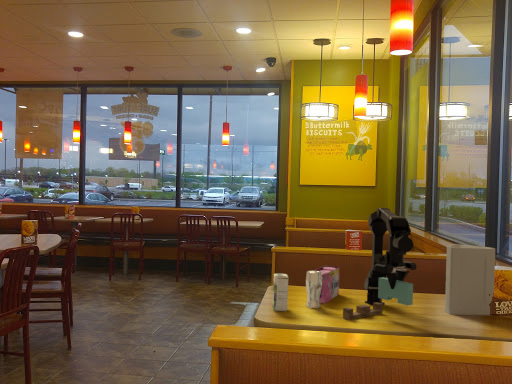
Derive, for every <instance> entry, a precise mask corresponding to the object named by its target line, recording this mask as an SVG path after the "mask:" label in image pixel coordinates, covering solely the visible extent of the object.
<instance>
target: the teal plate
mask: <svg viewBox="0 0 512 384" xmlns="http://www.w3.org/2000/svg"><path fill="white" fill-rule="evenodd" d="M413 297H414V283H412V282H409V281H408V282H407V281H398V280H396V284H395V287H394V289H391V287H390V284H389V281H388V278H387V277H386V278H384V277H382V278H379V284H378V298H381V299H382V300H385V301H390V300H393V299H395V300H396V299H397V304H400V305H405V306H412V305H413V302H414V301H413V299H414V298H413Z"/></svg>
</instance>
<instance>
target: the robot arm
mask: <svg viewBox="0 0 512 384" xmlns="http://www.w3.org/2000/svg"><path fill="white" fill-rule="evenodd" d="M367 225H368V227H369V229H368V230H369V231H370V233H371V234H372V246H371V247H372V248H371V249H372V250H371V267H370V269H369V270H368V272H367V277H366V278H365V281H364V285H363V286H364V289H365V290H366V291H367V293H366V300H364V303H366V304H369V305H372V306H373V303H376V302H378V303H381V304H383V305H385V302H383V299H381V298H378V284H379V278H382V277H384V278H388V281H389V284H390V287H391V289H394V287H395V284H396V280H398V281H403V282H405V281H404V280H405V279H406V278H407V275H408V274H409V273H410V272H411V271H416V270H417V264H416V262H414V261H413V262H412V261H409V260H408V261H407V260H405V256H406V255H407V253H408V252H411V250H412V249H413V248H414V242H413V240H412V239H411V238H410V237H409V236H411V233H412V230H411V226H410V224H409V221H408V220H407V217H405V216H401V215H400V216H398V215H396V214H395V213H394V212H392V211H391V209H390V208H388V207H379V208H377V209H376V210H375V211H374V212H373V213H371V214H370V215H369V217H368V220H367ZM387 232H388V237H389V238H388V250H386V251H385V254H384V252H383V251H384V247H383V246H384V236H385V234H386V233H387ZM407 269H410V270H411V271H410V270H407Z"/></svg>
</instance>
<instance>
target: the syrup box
mask: <svg viewBox="0 0 512 384" xmlns="http://www.w3.org/2000/svg"><path fill="white" fill-rule="evenodd" d="M272 282H273V284H272V285H273V286H272V303H271V304H272V307H271V308H272V310H273V312H287V311H288V296H289V290H288V289H289V275H288V274H287V273H273V281H272Z"/></svg>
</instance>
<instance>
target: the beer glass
mask: <svg viewBox="0 0 512 384" xmlns="http://www.w3.org/2000/svg"><path fill="white" fill-rule="evenodd" d="M305 275H306V276H305V288H306V296H307V298H306V299H307V301H306V304H305V307H307V308H309V309H319V308H321V303H320V293H321V288H322V272H321V271H314V270H307V271H306V274H305Z"/></svg>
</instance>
